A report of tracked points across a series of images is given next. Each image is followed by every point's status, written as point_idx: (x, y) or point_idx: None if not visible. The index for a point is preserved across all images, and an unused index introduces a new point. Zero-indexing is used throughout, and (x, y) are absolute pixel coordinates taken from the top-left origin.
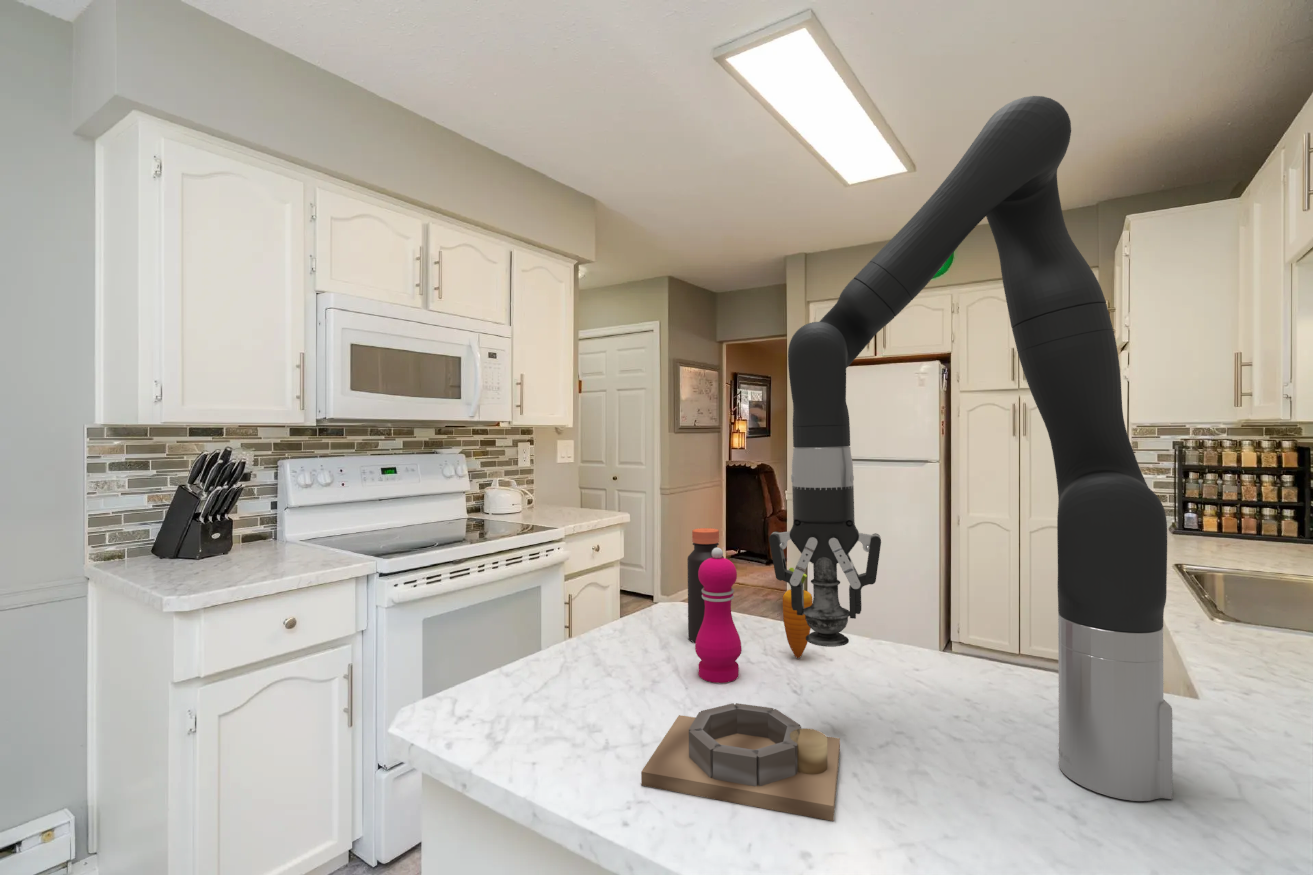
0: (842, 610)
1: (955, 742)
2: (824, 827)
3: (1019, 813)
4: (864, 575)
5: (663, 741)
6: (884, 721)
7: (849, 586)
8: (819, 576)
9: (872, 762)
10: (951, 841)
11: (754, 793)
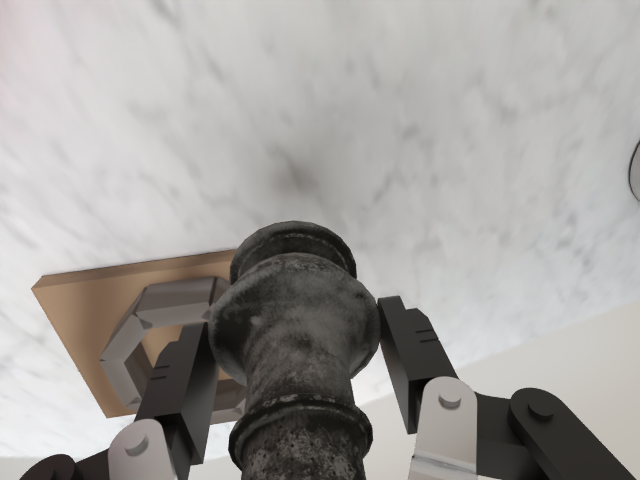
0: (358, 350)
1: (501, 129)
2: None
3: (527, 281)
4: (505, 478)
5: (76, 361)
6: (383, 94)
7: (408, 399)
8: None
9: (366, 248)
10: None
11: None
